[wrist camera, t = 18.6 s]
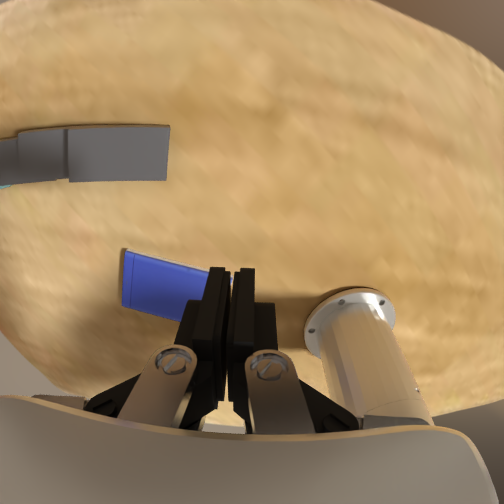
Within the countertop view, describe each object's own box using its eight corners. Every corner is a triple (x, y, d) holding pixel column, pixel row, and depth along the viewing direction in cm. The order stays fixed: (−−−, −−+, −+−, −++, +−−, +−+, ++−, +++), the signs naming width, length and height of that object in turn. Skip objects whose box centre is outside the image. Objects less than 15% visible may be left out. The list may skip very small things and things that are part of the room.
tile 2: (104, 126, 24) (18, 133, 21) (103, 177, 27) (20, 181, 24) (107, 124, 26) (24, 130, 23) (106, 172, 28) (26, 176, 25)
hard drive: (232, 280, 34) (124, 252, 32) (216, 331, 37) (121, 307, 35) (233, 272, 35) (129, 245, 33) (217, 323, 39) (124, 299, 37)
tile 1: (170, 127, 25) (68, 129, 22) (166, 180, 27) (69, 182, 24) (169, 125, 26) (73, 127, 23) (165, 175, 29) (73, 176, 26)
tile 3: (53, 133, 24) (-17, 144, 21) (55, 180, 27) (-13, 187, 24) (58, 131, 26) (-10, 141, 23) (60, 175, 28) (-6, 182, 25)
